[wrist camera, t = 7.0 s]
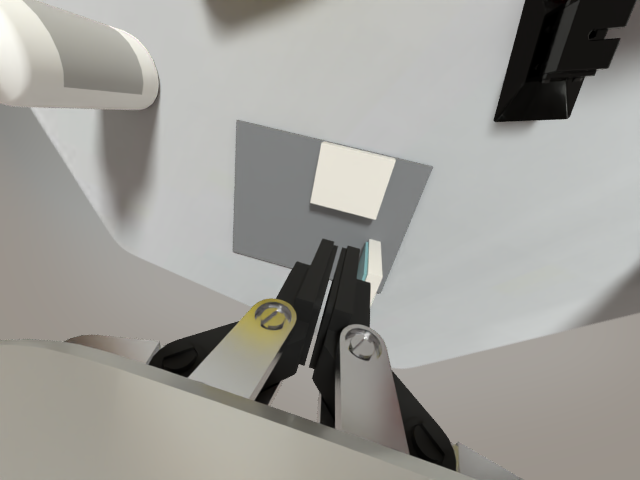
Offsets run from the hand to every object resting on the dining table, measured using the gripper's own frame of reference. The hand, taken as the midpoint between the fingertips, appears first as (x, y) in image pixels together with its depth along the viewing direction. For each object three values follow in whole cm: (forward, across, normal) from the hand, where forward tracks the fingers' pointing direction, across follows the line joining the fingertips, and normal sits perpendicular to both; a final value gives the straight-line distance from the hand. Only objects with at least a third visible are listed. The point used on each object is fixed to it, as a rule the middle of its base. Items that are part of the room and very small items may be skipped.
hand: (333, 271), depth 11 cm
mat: (+17, +4, +5) cm, 18 cm away
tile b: (+16, -4, +9) cm, 19 cm away
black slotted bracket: (+18, -11, -13) cm, 25 cm away
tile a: (+16, -3, 0) cm, 16 cm away
